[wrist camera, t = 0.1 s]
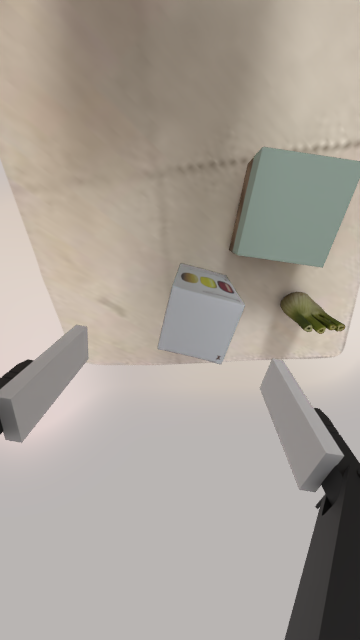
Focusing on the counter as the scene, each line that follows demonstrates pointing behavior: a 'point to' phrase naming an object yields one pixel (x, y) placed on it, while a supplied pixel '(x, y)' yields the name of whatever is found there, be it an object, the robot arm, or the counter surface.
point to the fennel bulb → (308, 313)
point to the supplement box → (200, 314)
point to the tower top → (294, 206)
